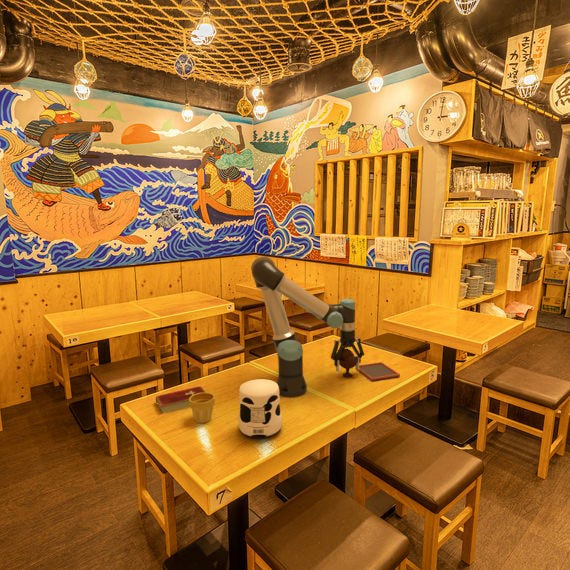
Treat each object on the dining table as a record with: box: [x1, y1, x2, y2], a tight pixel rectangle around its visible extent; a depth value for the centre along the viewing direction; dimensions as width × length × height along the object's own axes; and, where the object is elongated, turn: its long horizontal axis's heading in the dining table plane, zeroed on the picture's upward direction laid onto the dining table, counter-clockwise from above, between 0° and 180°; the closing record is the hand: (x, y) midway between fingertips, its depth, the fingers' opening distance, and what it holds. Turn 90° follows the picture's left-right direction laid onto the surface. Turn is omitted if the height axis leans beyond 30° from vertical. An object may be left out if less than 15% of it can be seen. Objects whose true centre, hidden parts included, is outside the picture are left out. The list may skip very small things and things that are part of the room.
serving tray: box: [354, 361, 401, 383], centre depth 209 cm, size 16×18×2 cm
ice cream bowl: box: [338, 348, 358, 379], centre depth 205 cm, size 11×11×15 cm
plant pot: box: [189, 391, 216, 424], centre depth 165 cm, size 10×10×10 cm
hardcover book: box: [155, 385, 206, 414], centre depth 181 cm, size 12×21×4 cm, turn 119°
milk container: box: [237, 378, 283, 439], centre depth 155 cm, size 17×17×18 cm
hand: (347, 370), depth 206 cm, fingers closed on ice cream bowl, 11 cm apart
